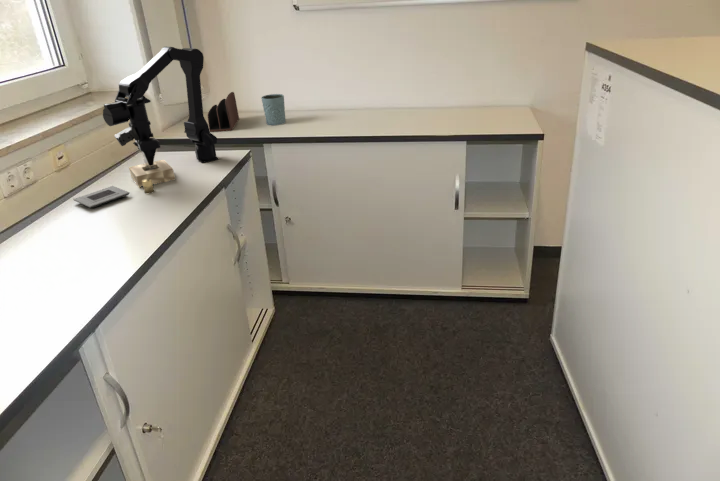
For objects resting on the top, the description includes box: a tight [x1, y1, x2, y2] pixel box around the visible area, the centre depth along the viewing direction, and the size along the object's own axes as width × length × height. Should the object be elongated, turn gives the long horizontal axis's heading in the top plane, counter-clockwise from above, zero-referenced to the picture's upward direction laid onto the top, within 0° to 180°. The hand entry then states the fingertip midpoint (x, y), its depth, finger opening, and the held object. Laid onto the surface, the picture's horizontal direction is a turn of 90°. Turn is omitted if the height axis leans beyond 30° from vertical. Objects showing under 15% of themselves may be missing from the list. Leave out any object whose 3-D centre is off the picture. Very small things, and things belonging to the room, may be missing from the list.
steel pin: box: [141, 152, 155, 171], centre depth 184 cm, size 3×3×10 cm
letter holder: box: [207, 91, 240, 133], centre depth 243 cm, size 10×20×14 cm, turn 2°
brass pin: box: [142, 179, 155, 194], centre depth 175 cm, size 3×3×4 cm
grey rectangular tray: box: [73, 185, 130, 209], centre depth 171 cm, size 13×10×2 cm
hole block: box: [128, 159, 176, 188], centre depth 186 cm, size 12×12×4 cm
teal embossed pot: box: [260, 93, 286, 126], centre depth 243 cm, size 10×10×12 cm
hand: (149, 163), depth 185 cm, fingers closed on steel pin, 3 cm apart
